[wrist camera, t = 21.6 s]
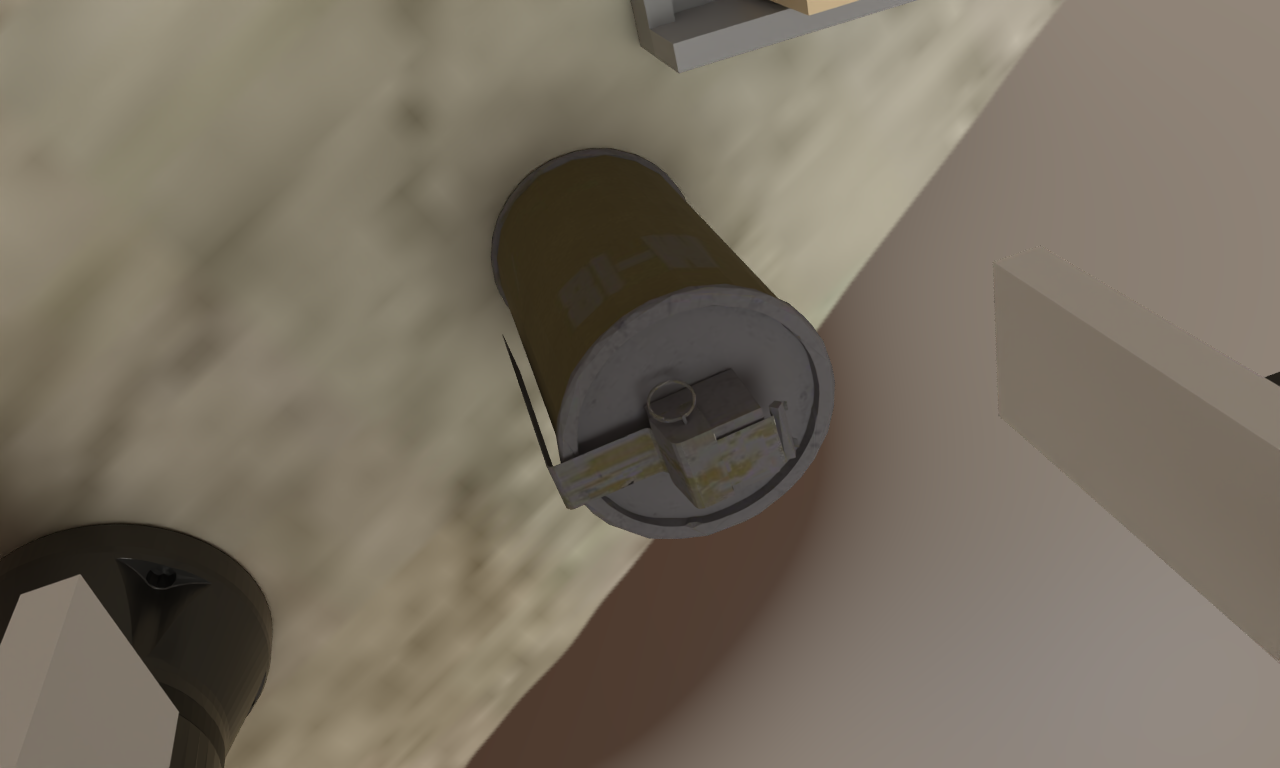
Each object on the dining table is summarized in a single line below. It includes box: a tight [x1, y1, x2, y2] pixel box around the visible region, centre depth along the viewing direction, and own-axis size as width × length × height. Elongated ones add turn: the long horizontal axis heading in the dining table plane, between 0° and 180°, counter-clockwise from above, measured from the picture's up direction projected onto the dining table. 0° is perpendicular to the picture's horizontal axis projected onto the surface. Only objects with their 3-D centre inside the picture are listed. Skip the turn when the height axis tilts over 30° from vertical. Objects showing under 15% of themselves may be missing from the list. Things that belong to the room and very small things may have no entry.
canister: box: [491, 149, 835, 539], centre depth 42 cm, size 11×10×20 cm
